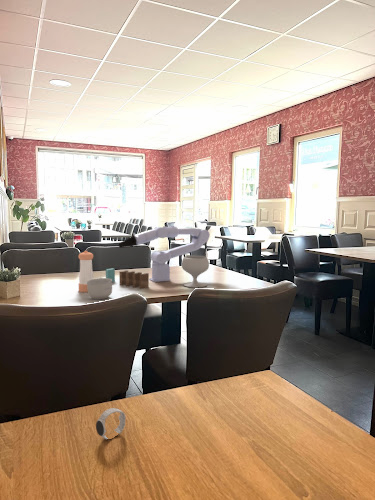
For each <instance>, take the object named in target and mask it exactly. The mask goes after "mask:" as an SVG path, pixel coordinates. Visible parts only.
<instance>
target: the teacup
mask: <svg viewBox="0 0 375 500" xmlns="http://www.w3.org/2000/svg"><path fill="white" fill-rule="evenodd" d="M87 288H88V292H87V295H88V296H89V297H90V298H92V299H93V300H105V299H108V298H109V297H110V296H111V295H112V292H113V282H112V279H109V278H106V277H98V278H93V279H92V280H89V281H87Z"/></svg>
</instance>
